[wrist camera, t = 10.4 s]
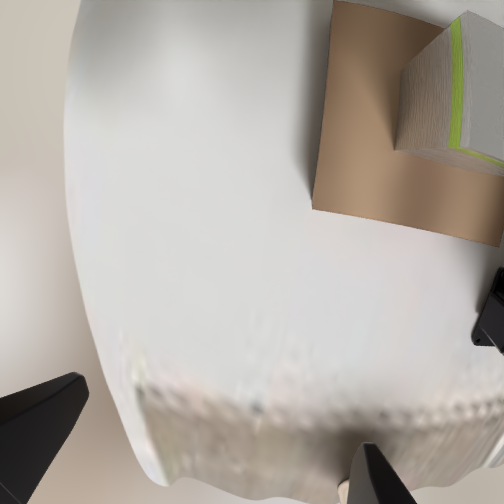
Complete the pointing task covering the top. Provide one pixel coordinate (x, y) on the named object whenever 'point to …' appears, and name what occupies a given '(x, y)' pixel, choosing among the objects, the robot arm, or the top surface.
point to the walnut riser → (390, 137)
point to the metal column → (456, 98)
